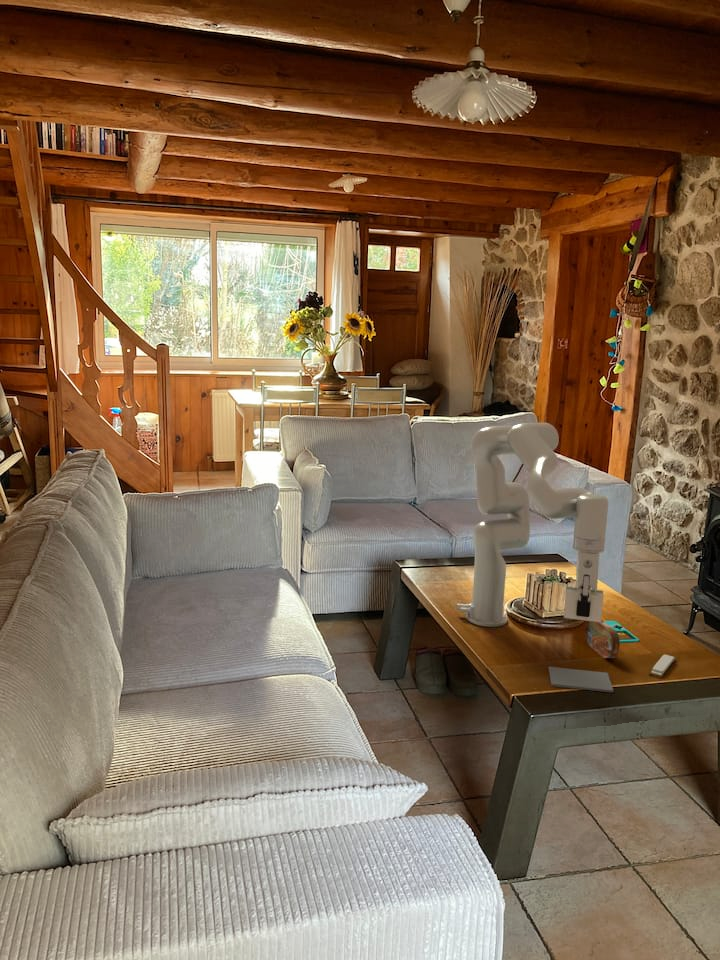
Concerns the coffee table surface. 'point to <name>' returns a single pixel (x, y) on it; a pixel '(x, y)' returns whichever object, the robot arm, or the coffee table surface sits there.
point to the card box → (571, 605)
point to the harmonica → (662, 666)
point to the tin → (602, 639)
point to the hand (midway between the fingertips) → (582, 612)
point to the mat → (580, 679)
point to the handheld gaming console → (621, 629)
